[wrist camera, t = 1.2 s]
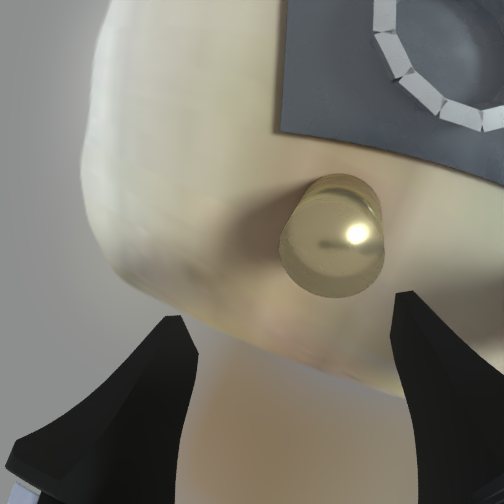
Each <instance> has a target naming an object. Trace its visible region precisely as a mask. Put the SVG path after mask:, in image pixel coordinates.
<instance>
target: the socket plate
mask: <svg viewBox="0 0 504 504" xmlns="http://www.w3.org/2000/svg"><path fill="white" fill-rule="evenodd" d="M280 131H282V132H290V133H297V134H304V135H311V136H317V137H324V138H329V139H335V140H341V141H346V142H351V143H357V144H362V145H366V146H371V147H376V148H380V149H385V150H389V151H393V152H397V153H401V154H405V155H409V156H413V157H417V158H421V159H425V160H428V161H432V162H435V163H439V164H442V165H445V166H449V167H452V168H455V169H458V170H462V171H465V172H468V173H471V174H474V175H477V176H480V177H482V178H485V179H488V180H491V181H494V182H496V183H499V184H502V185H504V0H288V8H287V27H286V45H285V62H284V78H283V94H282V109H281V123H280Z"/></svg>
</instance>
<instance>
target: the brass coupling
mask: <svg viewBox="0 0 504 504" xmlns="http://www.w3.org/2000/svg"><path fill="white" fill-rule="evenodd" d="M279 254H280V259H281V262H282V264H283V267H284V269H285V270H286V272H287V273H288V275H289V276H290V277H291V279H292V280H293V281H294V282H295V283H297V284H298V285H299V286H300V287H302V288H303V289H305V290H307V291H308V292H310V293H313V294H315V295H319V296H322V297H328V298H343V297H348V296H352V295H355V294H357V293H360V292H361V291H363V290H365V289H366V288H368V287H369V286H370V285H371V284H372V283H373V282H374V281H375V280H376V278H377V277H378V275H379V274H380V272H381V269H382V267H383V263H384V255H385V253H384V237H383V224H382V212H381V206H380V202H379V199H378V197H377V195H376V194H375V192H374V191H373V189H372V188H371V187H370V186H369V185H368V184H367V183H365V182H364V181H362V180H361V179H359V178H357V177H355V176H352V175H348V174H330V175H326V176H324V177H321V178H319V179H318V180H316V181H315V182H313V183H312V184H311V185H310V186H309V187H308V189H307V190H306V192H305V193H304V195H303V197H302V198H301V200H300V202H299V203H298V205H297V207H296V208H295V210H294V212H293V213H292V215H291V217H290V218H289V220H288V221H287V223H286V225H285V227H284V229H283V230H282V233H281V236H280V241H279Z"/></svg>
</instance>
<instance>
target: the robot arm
mask: <svg viewBox="0 0 504 504" xmlns="http://www.w3.org/2000/svg"><path fill="white" fill-rule="evenodd" d="M390 340H391V345H392V350H393V355H394V360H395V364H396V367H397V371H398V374H399V377H400V380H401V384H402V387H403V390H404V394H405V397H406V400H407V404H408V407H409V411H410V415H411V419H412V423H413V429H414V436H415V443H416V454H417V465H418V504H504V375H503V374H502V373H500V372H499V371H498V370H496V369H495V368H494V367H493V366H491V365H490V364H489V363H488V362H486V361H485V360H484V359H483V358H482V357H480V356H479V355H478V354H477V353H476V352H475V351H473V350H472V349H471V348H470V347H469V346H468V345H467V344H466V343H465V342H464V341H463V340H462V339H460V338H459V337H458V336H457V335H456V334H455V333H454V332H453V331H452V330H451V329H450V328H449V327H448V326H447V325H446V324H445V323H444V322H443V321H442V320H441V319H440V318H439V317H438V316H437V315H436V314H435V313H434V312H433V310H432V309H431V308H430V307H429V306H428V305H427V304H426V303H425V302H424V301H423V300H422V299H421V298H420V297H419V296H418V295H417V294H416V293H415V292H414V291H407V292H401V293H396V296H395V304H394V311H393V318H392V325H391V332H390ZM198 355H199V353H198V351H197V349H196V347H195V345H194V343H193V341H192V339H191V337H190V334H189V332H188V330H187V328H186V326H185V323H184V321H183V319H182V317H181V315H179V316H178V315H177V316H165V317H164V318H163V319H162V320H161V321H160V322H159V323H158V324H157V325H156V327H155V328H154V329H153V330H152V331H151V332H150V333H149V335H148V336H147V337H146V338H145V339H144V340H143V341H142V342H141V344H140V345H139V346H138V347H137V348H136V349H135V350H134V351H133V353H132V354H131V355H130V356H129V357H128V358H127V359H126V360H125V361H124V362H123V363H122V364H121V365H120V367H118V369H117V370H116V371H115V372H114V373H113V374H112V375H111V376H110V377H109V378H108V379H107V380H106V381H105V382H104V383H103V384H101V385H100V386H99V387H98V388H97V389H96V390H95V391H94V392H92V393H91V394H90V395H89V396H88V397H87V398H85V399H84V400H83V401H82V402H80V403H79V404H78V405H76V406H75V407H73V408H72V409H71V410H69V411H68V412H67V413H65V414H64V415H62V416H61V417H59V418H58V419H56V420H55V421H53V422H52V423H50V424H48V425H46V426H45V427H43V428H41V429H39V430H37V431H35V432H33V433H31V434H29V435H27V436H24V437H22V438H20V439H18V440H16V442H15V444H14V446H13V448H12V451H11V453H10V456H9V458H8V460H7V463H6V465H5V467H6V469H7V470H9V471H10V472H11V473H13V474H15V475H16V476H18V477H19V478H21V479H22V480H24V481H26V482H28V483H29V484H31V485H32V486H34V487H36V488H37V489H39V490H41V494H40V495H38V494H36V493H35V492H33V491H31V490H30V489H28V488H26V487H25V486H23V485H21V484H20V483H18V482H15V483H14V486H13V489H12V491H11V494H10V497H9V500H8V503H7V504H175V481H176V469H177V459H178V451H179V444H180V437H181V433H182V429H183V424H184V421H185V417H186V413H187V410H188V406H189V402H190V398H191V394H192V391H193V387H194V383H195V378H196V372H197V364H198Z"/></svg>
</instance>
